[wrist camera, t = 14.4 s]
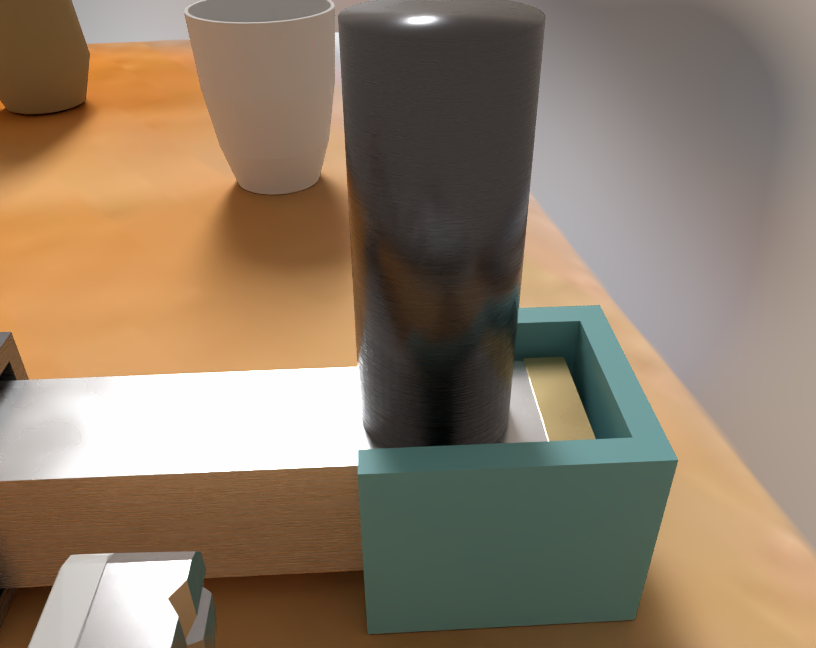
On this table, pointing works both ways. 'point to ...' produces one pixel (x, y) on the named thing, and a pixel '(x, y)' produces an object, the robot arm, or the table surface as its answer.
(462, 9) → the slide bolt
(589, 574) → the socket
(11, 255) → the table surface
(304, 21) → the cup
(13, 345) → the sleeve
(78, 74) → the squeeze bottle
